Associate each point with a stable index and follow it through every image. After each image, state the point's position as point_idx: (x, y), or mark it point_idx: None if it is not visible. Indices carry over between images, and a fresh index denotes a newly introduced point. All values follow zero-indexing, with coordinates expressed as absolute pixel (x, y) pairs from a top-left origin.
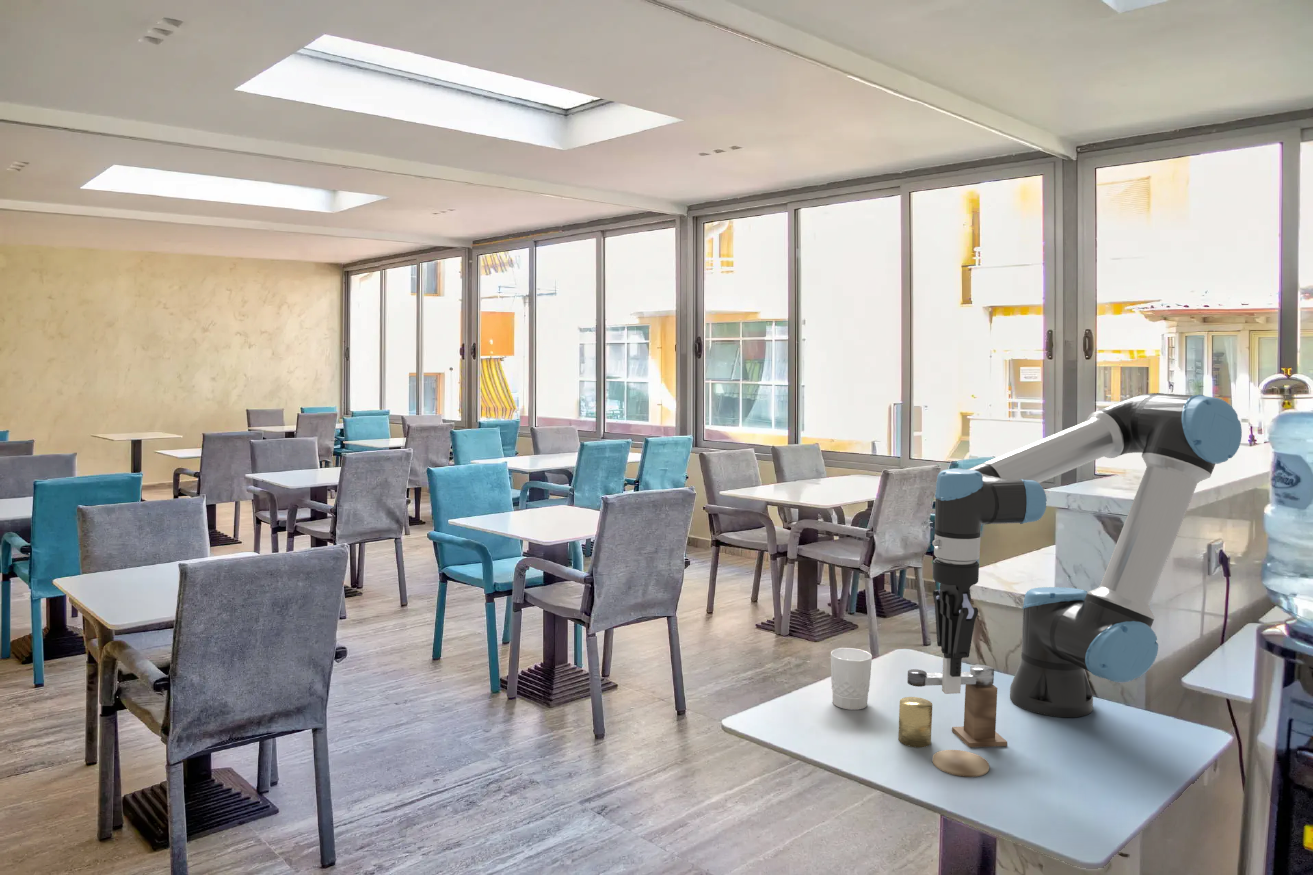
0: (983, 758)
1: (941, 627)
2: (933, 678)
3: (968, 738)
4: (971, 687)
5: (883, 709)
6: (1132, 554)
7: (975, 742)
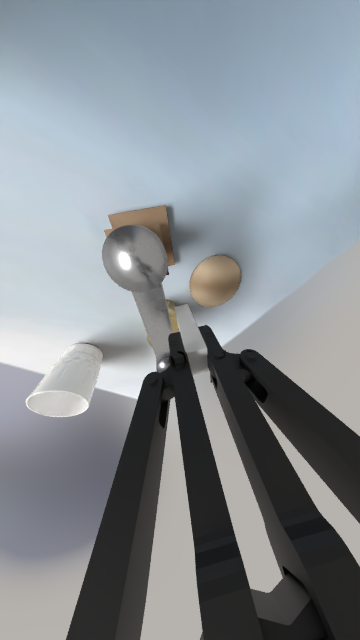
0: (211, 258)
1: (162, 450)
2: None
3: None
4: None
5: (87, 330)
6: None
7: (172, 256)
